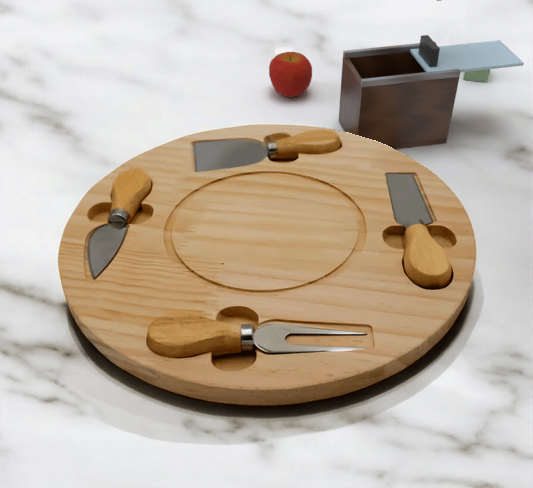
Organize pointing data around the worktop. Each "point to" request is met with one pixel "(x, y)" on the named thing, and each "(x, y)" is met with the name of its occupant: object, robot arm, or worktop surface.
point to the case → (395, 97)
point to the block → (477, 75)
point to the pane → (464, 56)
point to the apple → (290, 73)
